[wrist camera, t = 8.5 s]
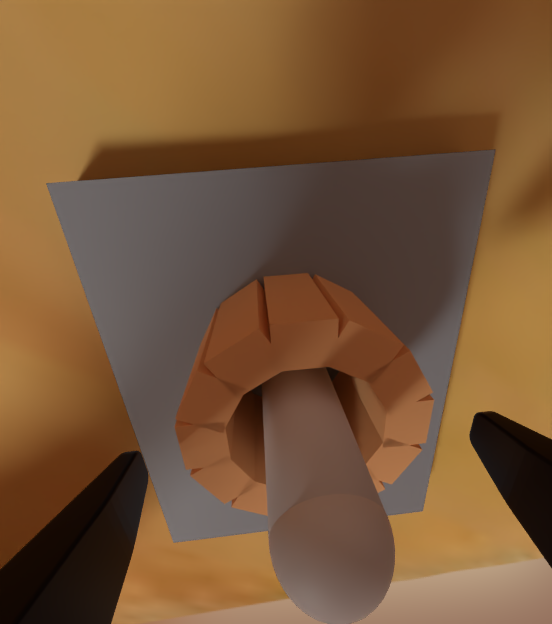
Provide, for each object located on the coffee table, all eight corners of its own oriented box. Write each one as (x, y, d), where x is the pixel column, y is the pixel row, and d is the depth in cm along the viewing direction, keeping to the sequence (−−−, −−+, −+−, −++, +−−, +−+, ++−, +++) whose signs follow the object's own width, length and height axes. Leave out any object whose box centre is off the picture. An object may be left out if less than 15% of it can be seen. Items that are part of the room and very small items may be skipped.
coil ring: (369, 416, 13) (414, 503, 9) (216, 432, 13) (201, 528, 9) (381, 266, 10) (451, 308, 7) (187, 282, 10) (149, 335, 6)
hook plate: (409, 486, 18) (553, 757, 9) (180, 514, 17) (108, 832, 9) (463, 154, 11) (1321, 9, 2) (74, 184, 10) (-916, 148, 2)
